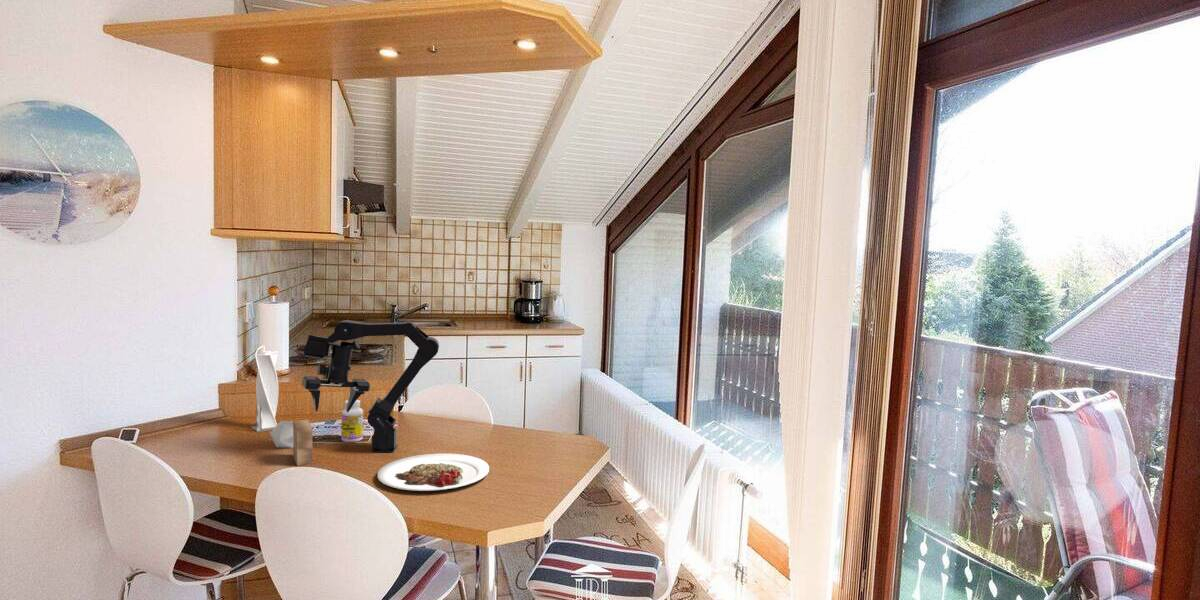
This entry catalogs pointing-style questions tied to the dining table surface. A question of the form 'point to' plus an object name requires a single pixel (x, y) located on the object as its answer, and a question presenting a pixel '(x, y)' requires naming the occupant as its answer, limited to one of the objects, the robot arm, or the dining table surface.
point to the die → (283, 434)
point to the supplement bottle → (352, 423)
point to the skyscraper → (266, 390)
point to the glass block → (302, 442)
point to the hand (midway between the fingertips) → (331, 411)
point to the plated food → (433, 472)
